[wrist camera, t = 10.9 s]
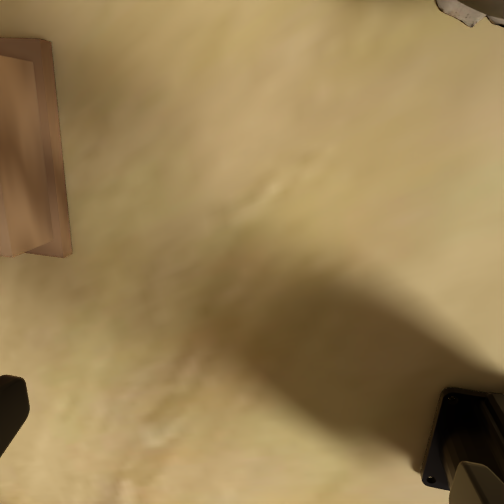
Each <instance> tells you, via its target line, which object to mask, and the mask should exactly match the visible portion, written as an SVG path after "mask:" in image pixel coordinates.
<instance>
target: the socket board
mask: <svg viewBox="0 0 504 504" xmlns="http://www.w3.org/2000/svg"><path fill="white" fill-rule="evenodd" d="M22 253H30V254H38V255H45V256H53V257H61V258H64V257H66V256H68V255H70V254H72V244H71V234H70V224H69V214H68V204H67V194H66V184H65V175H64V165H63V155H62V145H61V135H60V125H59V115H58V105H57V96H56V86H55V76H54V66H53V56H52V46H51V42H49V41H46V40H42V39H28V38H0V256H5V257H15V256H17V255H20V254H22Z"/></svg>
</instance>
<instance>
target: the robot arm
mask: <svg viewBox="0 0 504 504" xmlns="http://www.w3.org/2000/svg"><path fill="white" fill-rule="evenodd" d="M451 396H455V398H454V399H448V398H449V397H451ZM29 410H30V405H29V399H28V393H27V387H26V382H25V380H24V379H23V378H21V377H17V376H12V375H2V376H0V457H1V456H2V454H3V453H4V451H5V450H6V448H7V447H8V446H9V444H10V443H11V441H12V440H13V438H14V437H15V435H16V434H17V432H18V431H19V429H20V428H21V426H22V425H23V423H24V422H25V421H26V419H27V417H28V414H29ZM429 477H431V478H429ZM421 479H422V482H423V483H424V484H425V485H426V486H429V487H434V488H438V489H443V490H448V491H450V494H449V504H504V395H503V394H497V393H484V392H478V391H471V390H465V389H459V388H446V389H444V390H443V391H442V393H441V395H440V399H439V403H438V407H437V411H436V414H435V418H434V422H433V426H432V430H431V434H430V438H429V442H428V445H427V449H426V453H425V457H424V461H423V465H422V469H421Z"/></svg>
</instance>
